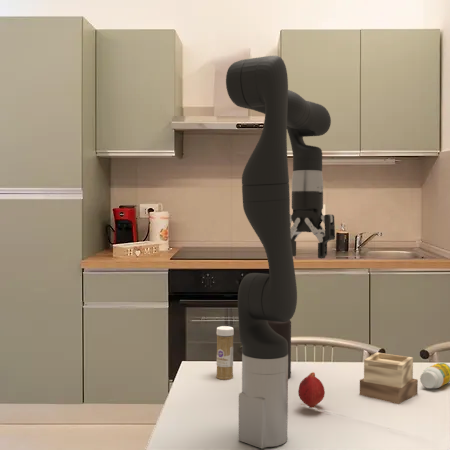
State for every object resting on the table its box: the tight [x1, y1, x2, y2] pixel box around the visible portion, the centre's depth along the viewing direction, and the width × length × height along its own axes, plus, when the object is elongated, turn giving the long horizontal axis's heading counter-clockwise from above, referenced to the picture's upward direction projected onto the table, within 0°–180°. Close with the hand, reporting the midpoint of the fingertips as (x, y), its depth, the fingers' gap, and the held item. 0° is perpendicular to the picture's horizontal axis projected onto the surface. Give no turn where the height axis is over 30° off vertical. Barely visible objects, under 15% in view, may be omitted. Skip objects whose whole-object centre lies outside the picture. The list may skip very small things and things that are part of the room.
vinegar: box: [267, 319, 292, 380], centre depth 155 cm, size 7×7×20 cm
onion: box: [298, 371, 326, 409], centre depth 132 cm, size 6×6×8 cm
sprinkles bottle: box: [215, 325, 235, 381], centre depth 155 cm, size 5×5×13 cm
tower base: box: [359, 377, 419, 405], centre depth 142 cm, size 10×10×4 cm
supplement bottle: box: [419, 362, 450, 389], centre depth 148 cm, size 5×5×10 cm
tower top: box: [363, 351, 414, 388], centre depth 141 cm, size 9×9×5 cm
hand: (306, 257), depth 142 cm, fingers open, 8 cm apart
